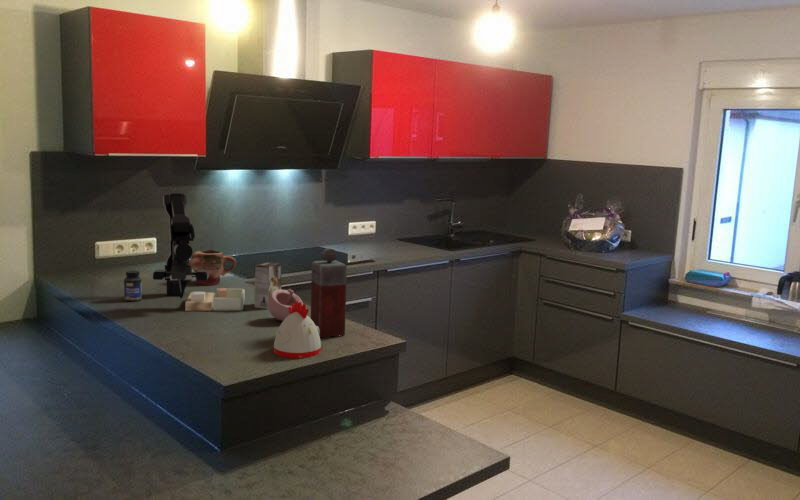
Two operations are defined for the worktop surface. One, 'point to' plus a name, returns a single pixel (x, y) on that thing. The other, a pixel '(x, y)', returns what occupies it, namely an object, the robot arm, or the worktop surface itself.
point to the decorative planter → (211, 265)
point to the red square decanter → (329, 294)
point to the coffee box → (266, 282)
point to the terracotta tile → (222, 293)
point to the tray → (229, 300)
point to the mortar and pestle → (282, 303)
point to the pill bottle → (132, 286)
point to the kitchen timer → (297, 334)
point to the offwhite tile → (198, 296)
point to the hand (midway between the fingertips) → (181, 298)
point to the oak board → (200, 303)
